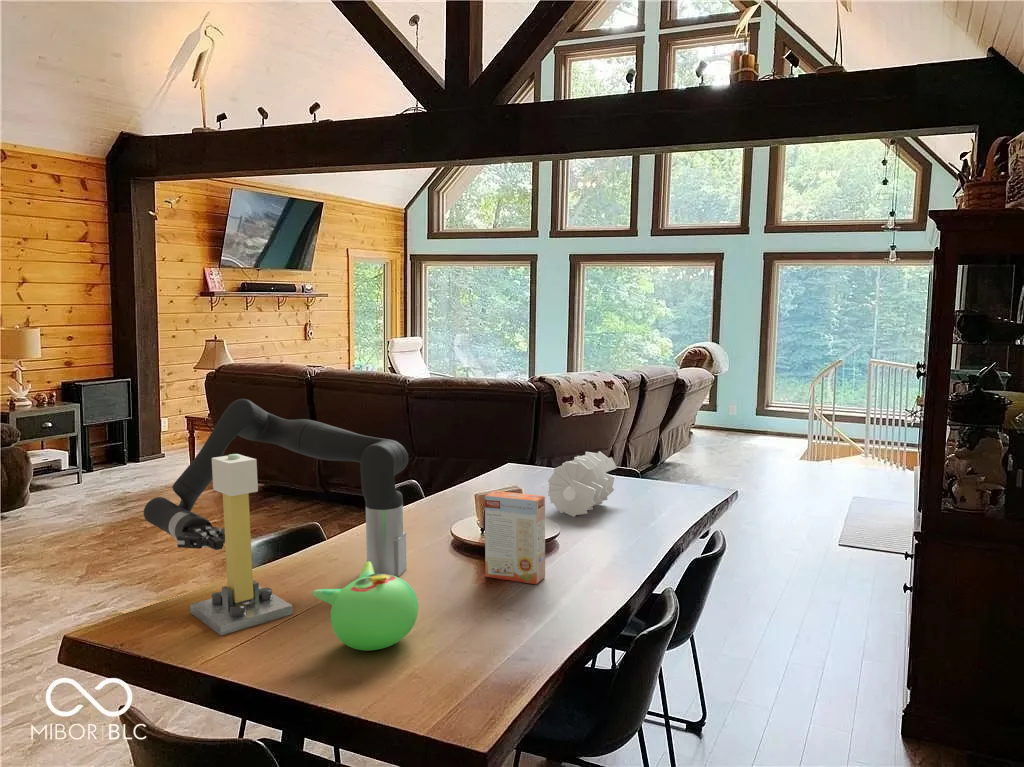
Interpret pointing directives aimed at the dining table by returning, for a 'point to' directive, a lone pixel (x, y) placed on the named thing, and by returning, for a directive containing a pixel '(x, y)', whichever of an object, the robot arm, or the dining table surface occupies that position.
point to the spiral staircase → (581, 483)
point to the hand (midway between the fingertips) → (219, 545)
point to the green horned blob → (371, 610)
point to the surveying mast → (237, 519)
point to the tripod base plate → (240, 623)
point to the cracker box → (515, 537)
